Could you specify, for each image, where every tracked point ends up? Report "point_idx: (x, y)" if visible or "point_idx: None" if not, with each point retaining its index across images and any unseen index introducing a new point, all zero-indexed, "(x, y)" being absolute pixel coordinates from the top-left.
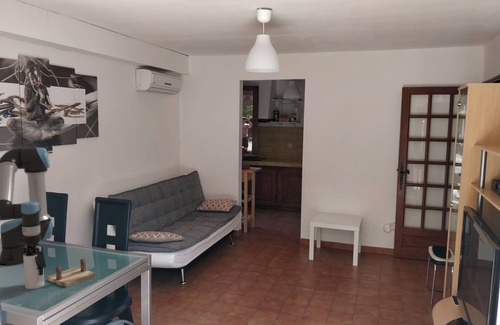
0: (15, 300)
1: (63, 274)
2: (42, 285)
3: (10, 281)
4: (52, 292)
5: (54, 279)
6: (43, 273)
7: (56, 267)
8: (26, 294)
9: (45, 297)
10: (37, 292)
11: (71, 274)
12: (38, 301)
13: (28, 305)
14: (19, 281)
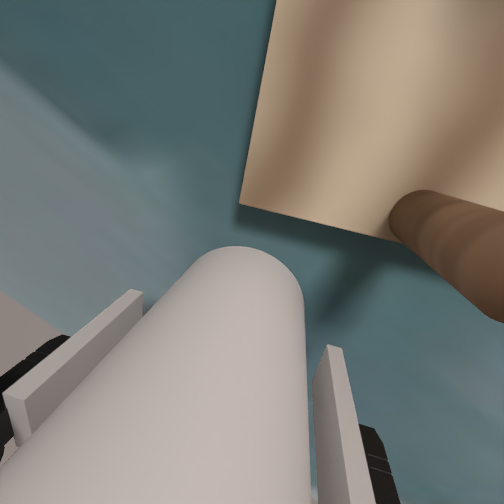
0: (314, 464)
1: (373, 76)
2: (303, 300)
3: (38, 290)
4: (472, 366)
5: (364, 233)
6: (292, 338)
7: (492, 301)
8: (308, 409)
9: (472, 427)
10: (354, 381)
11: (502, 21)
12: (462, 467)
13: (436, 500)
14: (81, 275)
